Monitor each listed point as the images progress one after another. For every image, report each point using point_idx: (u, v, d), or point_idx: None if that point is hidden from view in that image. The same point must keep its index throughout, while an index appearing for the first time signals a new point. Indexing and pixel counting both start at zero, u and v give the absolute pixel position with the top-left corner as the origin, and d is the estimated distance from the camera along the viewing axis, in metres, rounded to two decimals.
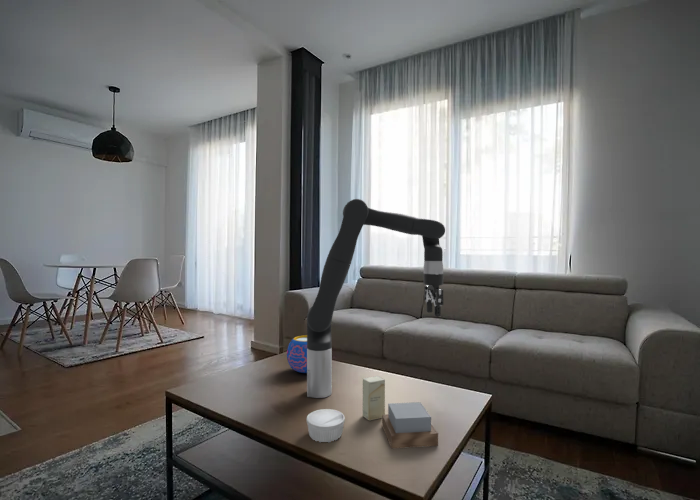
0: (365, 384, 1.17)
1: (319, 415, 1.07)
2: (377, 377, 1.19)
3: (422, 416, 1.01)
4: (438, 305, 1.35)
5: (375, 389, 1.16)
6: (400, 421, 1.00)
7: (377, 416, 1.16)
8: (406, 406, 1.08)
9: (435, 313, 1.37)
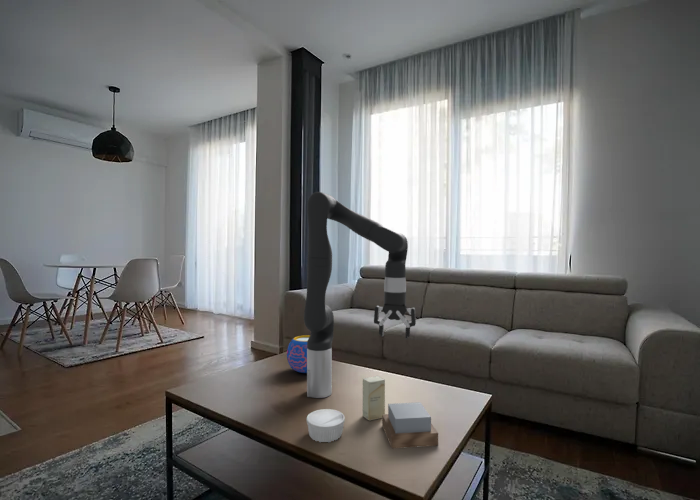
0: (365, 384, 1.17)
1: (319, 415, 1.07)
2: (377, 377, 1.19)
3: (422, 417, 1.01)
4: None
5: (375, 389, 1.16)
6: (400, 421, 1.00)
7: (377, 416, 1.16)
8: (406, 406, 1.08)
9: (407, 335, 1.24)
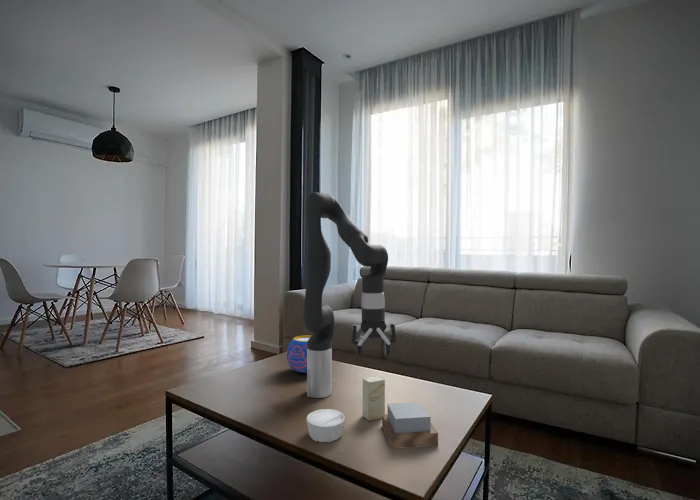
0: (365, 384, 1.17)
1: (319, 415, 1.07)
2: (377, 377, 1.19)
3: (421, 416, 1.01)
4: None
5: (375, 389, 1.16)
6: (399, 421, 1.00)
7: (377, 416, 1.16)
8: (405, 406, 1.08)
9: (388, 353, 1.18)
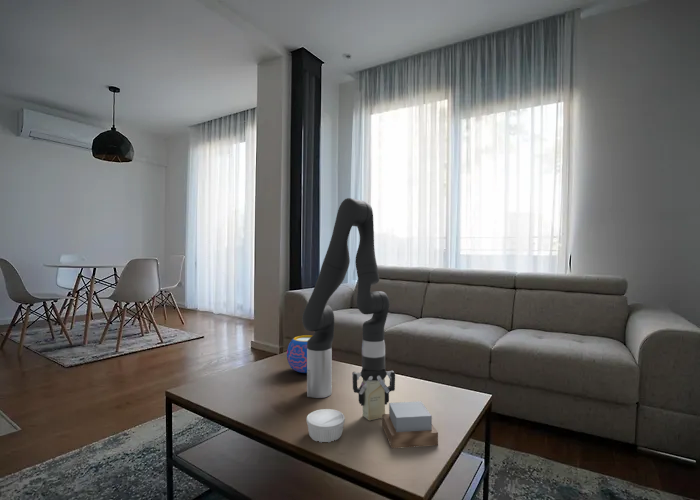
0: None
1: (319, 415, 1.07)
2: None
3: (422, 415, 1.02)
4: None
5: (375, 389, 1.16)
6: (401, 420, 1.01)
7: (377, 416, 1.16)
8: (406, 405, 1.09)
9: (386, 401, 1.17)
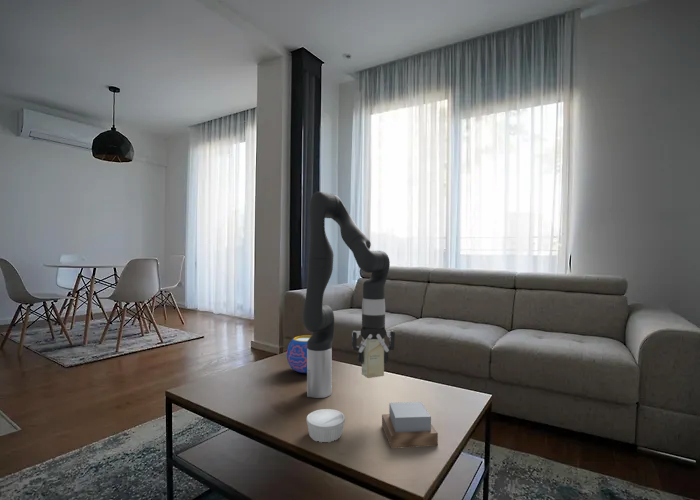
0: None
1: (319, 415, 1.07)
2: None
3: (421, 416, 1.01)
4: None
5: (374, 347, 1.16)
6: (400, 420, 1.01)
7: (376, 374, 1.16)
8: (407, 405, 1.09)
9: (386, 360, 1.17)
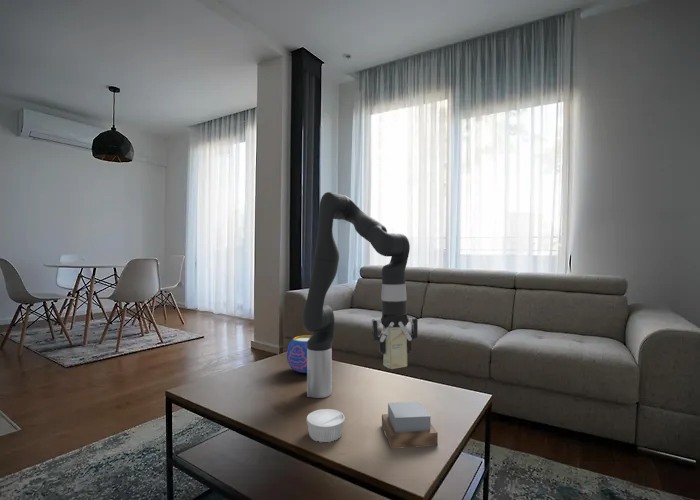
0: None
1: (319, 415, 1.07)
2: None
3: (421, 416, 1.01)
4: None
5: (397, 336, 1.08)
6: (399, 420, 1.01)
7: (399, 365, 1.08)
8: (405, 405, 1.08)
9: (409, 349, 1.10)
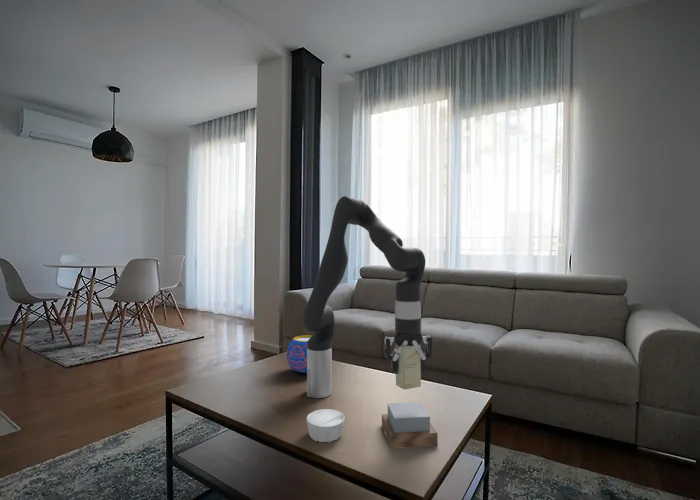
0: None
1: (319, 415, 1.07)
2: None
3: (420, 416, 1.01)
4: None
5: (410, 355, 1.04)
6: (399, 421, 1.00)
7: (413, 385, 1.04)
8: (405, 405, 1.08)
9: (423, 369, 1.05)
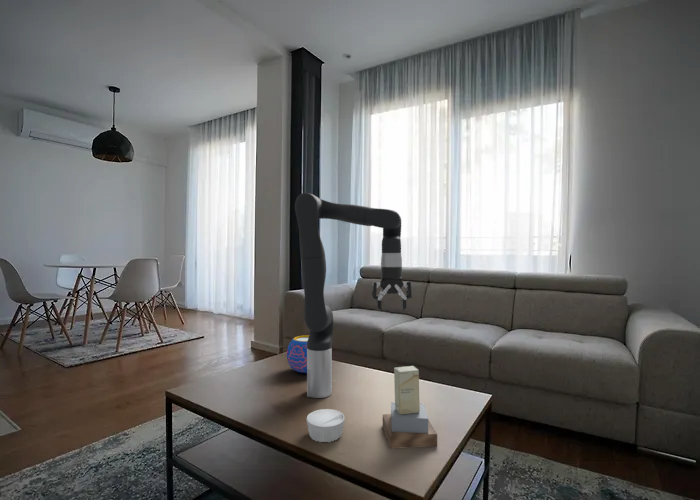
0: (396, 374, 1.05)
1: (319, 415, 1.07)
2: (411, 367, 1.06)
3: (419, 417, 1.01)
4: None
5: (407, 380, 1.03)
6: (396, 420, 1.01)
7: (410, 410, 1.03)
8: None
9: (404, 307, 1.31)
